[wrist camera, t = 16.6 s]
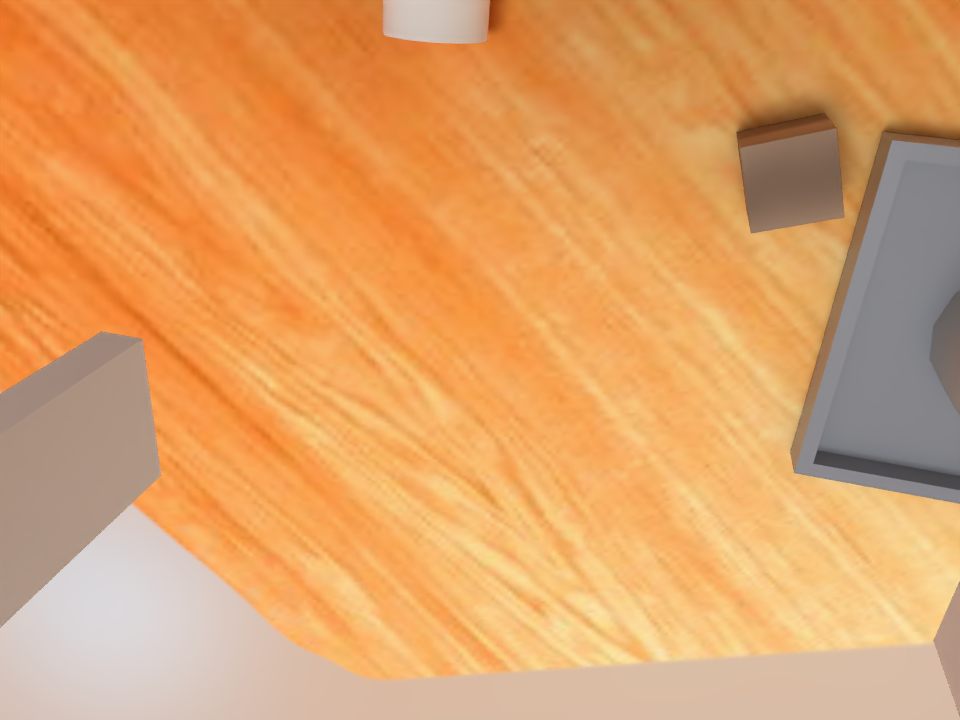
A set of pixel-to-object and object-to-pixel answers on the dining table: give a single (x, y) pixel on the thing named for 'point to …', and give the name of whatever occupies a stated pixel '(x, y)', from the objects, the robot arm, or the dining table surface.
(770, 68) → the dining table surface
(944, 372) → the cup
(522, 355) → the dining table surface
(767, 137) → the walnut block
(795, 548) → the dining table surface
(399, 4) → the canister
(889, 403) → the tray
